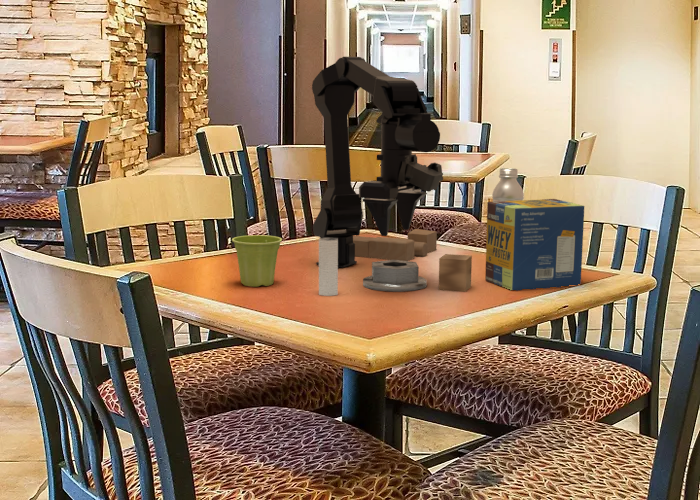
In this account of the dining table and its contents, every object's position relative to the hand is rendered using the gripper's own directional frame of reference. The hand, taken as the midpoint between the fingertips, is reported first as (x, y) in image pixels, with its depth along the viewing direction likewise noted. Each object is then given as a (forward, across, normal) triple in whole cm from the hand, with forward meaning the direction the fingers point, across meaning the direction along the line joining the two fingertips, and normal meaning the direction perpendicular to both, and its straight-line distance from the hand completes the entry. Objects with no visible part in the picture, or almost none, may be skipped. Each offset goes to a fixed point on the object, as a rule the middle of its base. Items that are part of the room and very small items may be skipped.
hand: (395, 232), depth 186 cm
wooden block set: (+11, +32, +17) cm, 38 cm away
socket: (+10, 0, 0) cm, 10 cm away
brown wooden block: (+10, +3, -11) cm, 15 cm away
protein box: (+10, +15, -22) cm, 29 cm away
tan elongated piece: (+10, -13, +7) cm, 18 cm away
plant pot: (+10, -12, +23) cm, 28 cm away
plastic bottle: (+10, +33, -10) cm, 36 cm away
